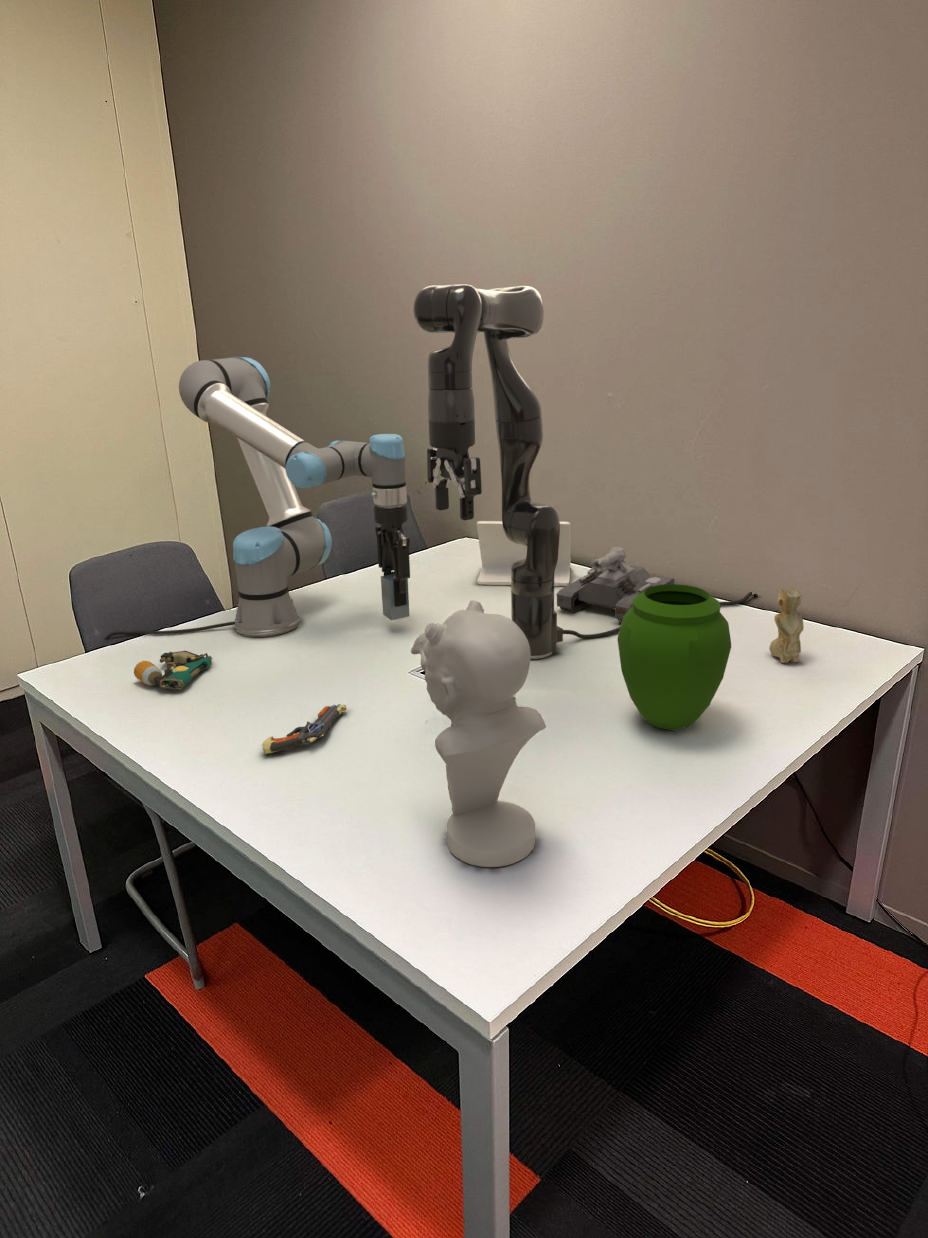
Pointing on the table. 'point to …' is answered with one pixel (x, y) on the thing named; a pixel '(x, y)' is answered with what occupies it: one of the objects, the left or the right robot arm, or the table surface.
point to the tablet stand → (515, 554)
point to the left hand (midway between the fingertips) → (395, 601)
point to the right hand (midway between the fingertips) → (454, 514)
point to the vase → (673, 653)
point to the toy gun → (305, 731)
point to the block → (392, 599)
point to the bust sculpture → (481, 729)
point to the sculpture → (788, 626)
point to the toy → (609, 585)
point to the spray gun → (172, 669)
